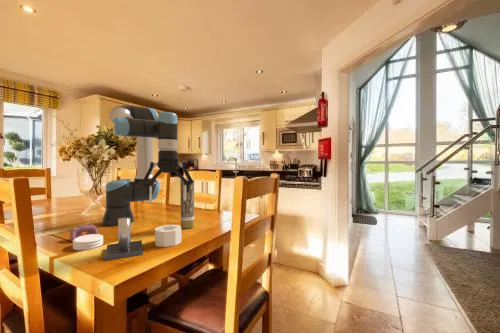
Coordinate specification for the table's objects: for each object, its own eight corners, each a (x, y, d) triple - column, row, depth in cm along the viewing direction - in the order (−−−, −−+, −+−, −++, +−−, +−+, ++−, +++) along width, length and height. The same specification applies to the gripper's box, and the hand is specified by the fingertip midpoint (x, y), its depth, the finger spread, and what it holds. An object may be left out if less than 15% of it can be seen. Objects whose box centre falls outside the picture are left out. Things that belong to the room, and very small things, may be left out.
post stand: (107, 248, 90) (107, 216, 90) (141, 243, 95) (141, 213, 95) (104, 260, 79) (103, 224, 79) (142, 254, 85) (142, 220, 84)
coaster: (108, 241, 98) (108, 233, 98) (93, 251, 88) (92, 241, 88) (84, 241, 98) (84, 233, 98) (66, 251, 88) (66, 241, 88)
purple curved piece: (97, 239, 105) (95, 224, 107) (99, 236, 102) (97, 221, 104) (70, 244, 98) (68, 228, 100) (71, 242, 95) (70, 225, 97)
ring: (154, 240, 99) (154, 226, 99) (178, 237, 104) (178, 223, 104) (156, 248, 91) (156, 233, 90) (182, 244, 95) (182, 229, 95)
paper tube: (190, 229, 116) (190, 179, 115) (178, 228, 117) (178, 178, 116) (196, 225, 122) (196, 178, 122) (184, 224, 124) (184, 177, 123)
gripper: (134, 149, 87) (134, 205, 88) (200, 150, 99) (200, 200, 99) (134, 150, 94) (134, 202, 94) (195, 151, 105) (195, 198, 106)
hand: (168, 201), depth 97 cm, fingers open, 13 cm apart
